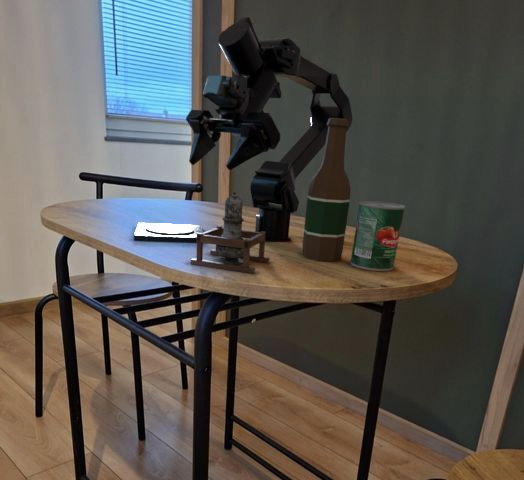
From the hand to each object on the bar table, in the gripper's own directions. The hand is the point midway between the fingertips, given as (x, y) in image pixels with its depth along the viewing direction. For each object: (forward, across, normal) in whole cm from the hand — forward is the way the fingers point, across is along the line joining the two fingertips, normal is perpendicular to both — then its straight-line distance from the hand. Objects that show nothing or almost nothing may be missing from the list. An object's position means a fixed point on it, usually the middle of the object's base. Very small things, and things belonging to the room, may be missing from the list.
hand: (208, 165), depth 83 cm
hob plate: (+9, -14, +12) cm, 21 cm away
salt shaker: (+14, +10, +7) cm, 18 cm away
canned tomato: (0, +26, +23) cm, 34 cm away
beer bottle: (+2, +16, +21) cm, 27 cm away
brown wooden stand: (+14, +10, +7) cm, 18 cm away
